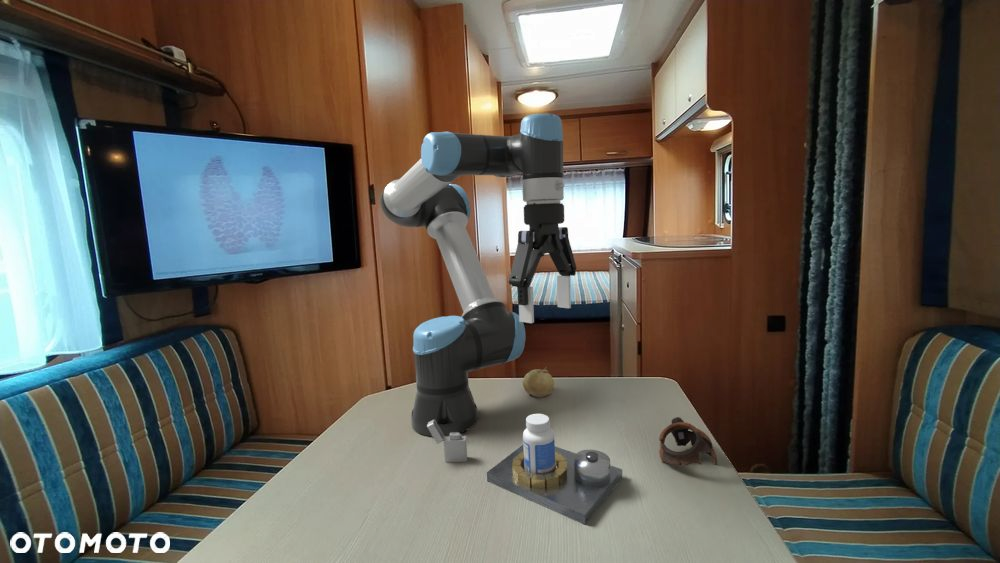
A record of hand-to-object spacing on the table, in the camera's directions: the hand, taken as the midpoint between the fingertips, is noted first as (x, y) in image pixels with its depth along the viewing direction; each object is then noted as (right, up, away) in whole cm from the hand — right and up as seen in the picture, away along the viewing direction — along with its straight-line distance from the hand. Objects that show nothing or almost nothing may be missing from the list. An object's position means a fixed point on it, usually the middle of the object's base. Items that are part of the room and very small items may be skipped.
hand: (546, 314), depth 84 cm
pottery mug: (+25, -27, -3) cm, 37 cm away
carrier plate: (0, -28, -8) cm, 29 cm away
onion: (+1, -23, +28) cm, 36 cm away
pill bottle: (-2, -27, -8) cm, 28 cm away
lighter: (-19, -28, 0) cm, 34 cm away
